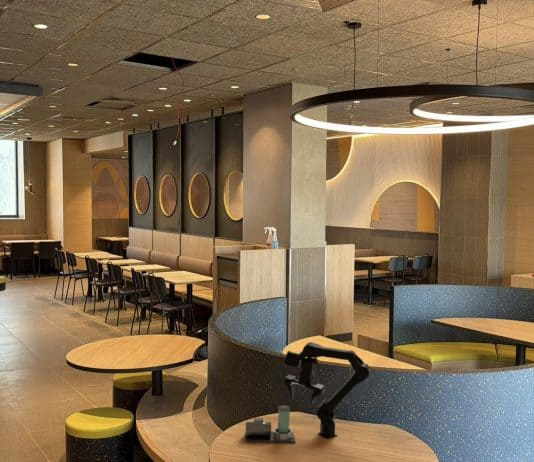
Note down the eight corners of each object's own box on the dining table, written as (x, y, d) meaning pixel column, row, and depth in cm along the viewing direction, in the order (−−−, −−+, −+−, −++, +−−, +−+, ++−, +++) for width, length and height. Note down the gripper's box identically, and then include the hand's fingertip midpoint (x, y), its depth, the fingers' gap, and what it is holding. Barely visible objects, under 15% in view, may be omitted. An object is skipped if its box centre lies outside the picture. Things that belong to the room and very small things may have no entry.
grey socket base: (292, 434, 267) (293, 415, 267) (295, 443, 257) (295, 423, 257) (245, 433, 266) (246, 414, 266) (245, 442, 256) (246, 423, 256)
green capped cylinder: (290, 435, 263) (292, 407, 262) (284, 439, 259) (285, 410, 258) (281, 433, 266) (282, 404, 265) (275, 436, 262) (276, 407, 261)
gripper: (331, 370, 273) (326, 401, 276) (294, 359, 280) (289, 389, 283) (323, 378, 263) (318, 410, 266) (285, 366, 270) (280, 398, 273)
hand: (301, 401), depth 272 cm, fingers open, 9 cm apart
